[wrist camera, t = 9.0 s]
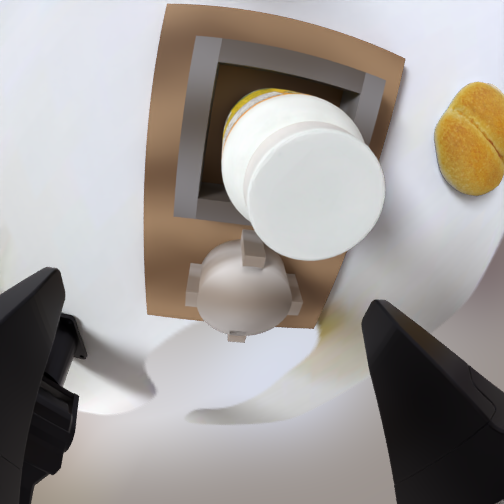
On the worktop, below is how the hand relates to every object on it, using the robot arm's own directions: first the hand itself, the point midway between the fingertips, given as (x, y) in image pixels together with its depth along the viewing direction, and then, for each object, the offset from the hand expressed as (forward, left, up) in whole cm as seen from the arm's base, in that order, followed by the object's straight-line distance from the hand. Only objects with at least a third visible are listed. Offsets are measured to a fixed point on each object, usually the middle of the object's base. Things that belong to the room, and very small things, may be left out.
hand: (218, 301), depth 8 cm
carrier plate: (-1, -2, -12) cm, 12 cm away
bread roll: (+7, -18, -12) cm, 23 cm away
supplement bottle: (+3, -2, -11) cm, 12 cm away
